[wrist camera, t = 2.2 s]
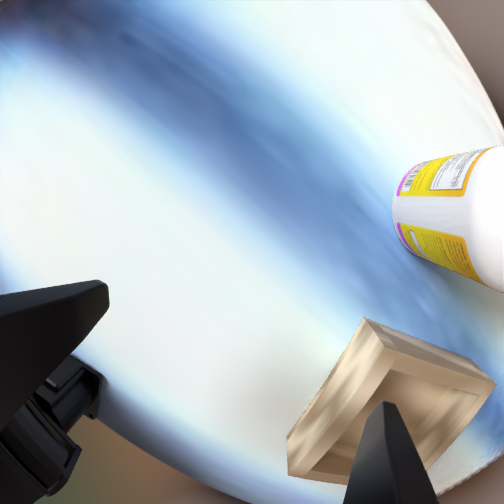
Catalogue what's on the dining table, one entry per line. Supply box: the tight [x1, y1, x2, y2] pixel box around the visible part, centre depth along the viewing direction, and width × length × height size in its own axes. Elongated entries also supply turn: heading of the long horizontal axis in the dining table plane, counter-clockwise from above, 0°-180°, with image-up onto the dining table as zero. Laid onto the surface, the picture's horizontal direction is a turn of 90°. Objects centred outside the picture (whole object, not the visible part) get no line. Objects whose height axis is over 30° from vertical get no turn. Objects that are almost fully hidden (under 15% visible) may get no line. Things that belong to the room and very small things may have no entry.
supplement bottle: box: [392, 145, 504, 293], centre depth 12 cm, size 7×7×13 cm
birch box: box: [287, 317, 496, 485], centre depth 18 cm, size 12×12×5 cm
